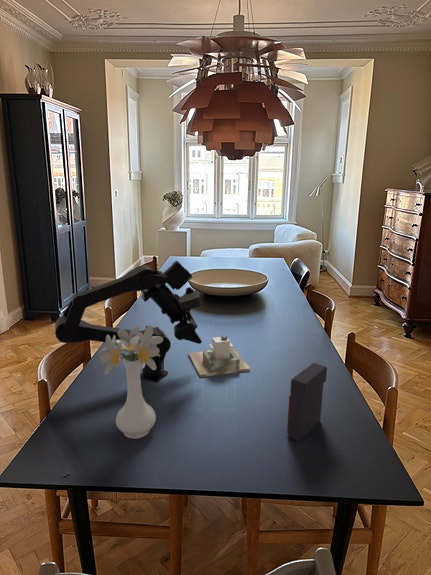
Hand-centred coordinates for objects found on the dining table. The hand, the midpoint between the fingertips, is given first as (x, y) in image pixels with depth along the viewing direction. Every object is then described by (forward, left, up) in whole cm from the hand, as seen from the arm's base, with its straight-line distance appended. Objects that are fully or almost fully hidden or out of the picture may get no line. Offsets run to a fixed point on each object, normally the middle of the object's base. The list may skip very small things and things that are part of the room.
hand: (198, 335), depth 127 cm
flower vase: (-35, -4, -11) cm, 37 cm away
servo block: (+4, -6, -10) cm, 12 cm away
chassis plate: (+6, -4, -11) cm, 13 cm away
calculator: (-15, -39, -11) cm, 43 cm away
